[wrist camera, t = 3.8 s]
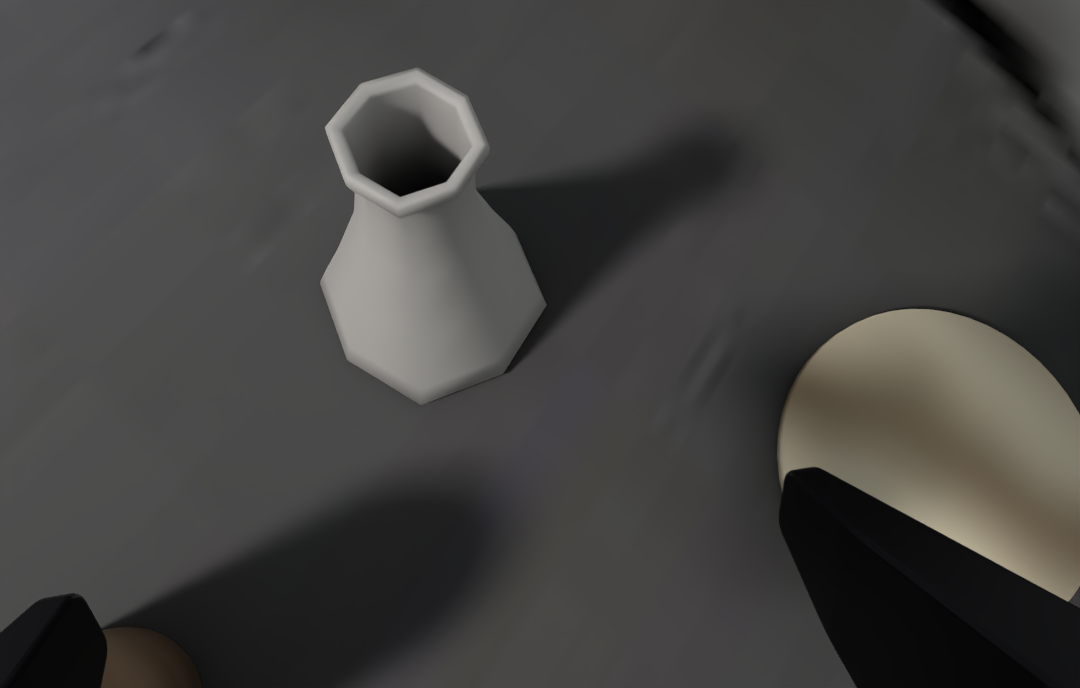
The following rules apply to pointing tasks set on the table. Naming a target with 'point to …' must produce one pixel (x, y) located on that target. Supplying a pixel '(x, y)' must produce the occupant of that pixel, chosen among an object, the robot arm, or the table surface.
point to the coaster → (946, 436)
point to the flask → (423, 243)
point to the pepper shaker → (146, 661)
